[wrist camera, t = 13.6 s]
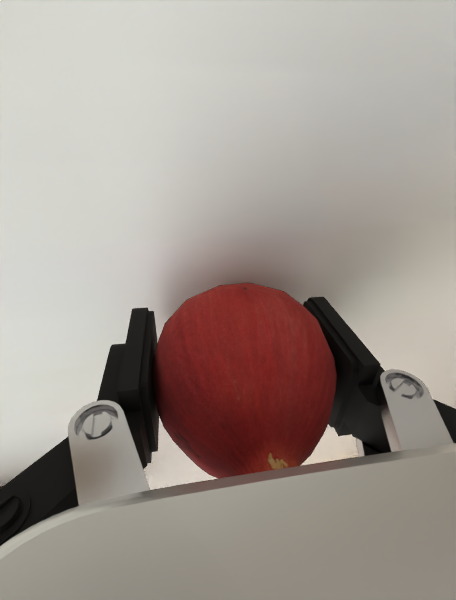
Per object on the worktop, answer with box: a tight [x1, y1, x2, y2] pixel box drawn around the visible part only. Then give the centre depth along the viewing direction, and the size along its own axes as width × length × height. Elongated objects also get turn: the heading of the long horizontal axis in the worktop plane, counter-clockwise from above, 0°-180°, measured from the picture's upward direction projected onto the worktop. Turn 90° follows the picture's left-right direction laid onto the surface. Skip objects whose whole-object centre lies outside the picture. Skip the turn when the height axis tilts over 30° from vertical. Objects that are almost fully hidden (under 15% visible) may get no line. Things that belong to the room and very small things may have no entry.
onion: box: [152, 283, 337, 479], centre depth 10 cm, size 6×6×8 cm
